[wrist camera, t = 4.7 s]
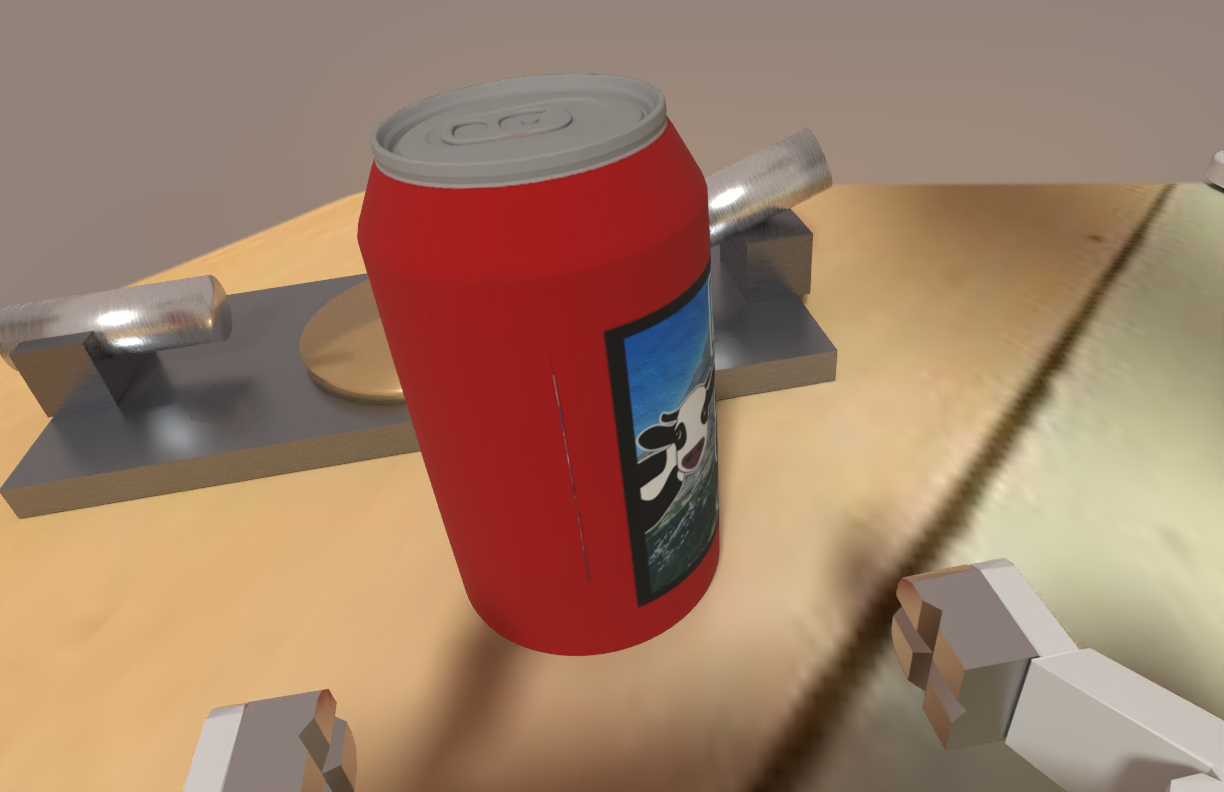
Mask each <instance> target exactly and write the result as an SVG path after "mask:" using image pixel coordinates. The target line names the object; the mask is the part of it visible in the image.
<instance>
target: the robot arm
mask: <svg viewBox="0 0 1224 792" xmlns="http://www.w3.org/2000/svg"><path fill="white" fill-rule="evenodd" d="M1205 177H1206V178H1207V179H1208V180H1210V181H1211V182H1213V183H1215V184H1217V185H1218V186H1220V187H1222V188H1224V150H1222V151H1220V152H1217V153H1216V154H1215V155H1214V156H1213V158H1212V160H1211V162H1210V164H1209V167H1208V169H1207V171H1206V173H1205ZM896 596H897V598H898V599H899V601H900V603H901V605H902V607H901V608H900V609H899V610H898V611H897V612H896V613H895V614H894V615H893V622H892V637H893V643H894V649H895V652H896V655H897V657H898V660H899V663H900V665H901V667H902V669H903V671H904V673H905V675H906V677H907V679H908V680H909V681H910V682H912V683H913V684H915V685H916V686H918V687H919V688H921V689H922V690H924V691H925V692H926V693H925V698H924V704H923V709H924V711H925V713H926V715H927V717H928V719H929V720H930V722H931V724H932V726H933V728H934V730H935V732H936V733H937V735H938V737H939V739H940V741H941V743H942V745H943V746H944V748H945V750H950V749H956V748H962V747H968V746H973V745H979V744H985V743H990V742H996V741H1002V740H1006V741H1005V744H1006V745H1008V746H1009V747H1010V748H1011V749H1013V750H1014V751H1015V752H1017V753H1018V754H1019V755H1020V756H1022V757H1023V758H1024V759H1025V760H1027V761H1028V762H1029V763H1031V764H1032V765H1033V766H1034V767H1036V768H1037V769H1038V770H1040V771H1041V772H1042V773H1043V774H1045V775H1046V776H1047V777H1048V778H1050V779H1051V780H1052V781H1054V782H1055V783H1056V784H1057V785H1059V786H1060V787H1061V788H1062V789H1064V790H1065V791H1066V792H1224V720H1222V719H1220V718H1218V717H1216V716H1215V715H1213V714H1211V713H1209V712H1207V711H1205V710H1203V709H1202V708H1200V707H1198V706H1196V705H1194V704H1192V703H1191V702H1189V701H1187V700H1185V699H1183V698H1181V697H1180V696H1178V695H1176V694H1174V693H1172V692H1170V691H1169V690H1167V689H1165V688H1163V687H1161V686H1159V685H1158V684H1156V683H1154V682H1152V681H1150V680H1148V679H1147V678H1145V677H1143V676H1141V675H1139V674H1137V673H1135V672H1134V671H1132V670H1130V669H1128V668H1126V667H1124V666H1123V665H1121V664H1119V663H1117V662H1115V661H1113V660H1112V659H1110V658H1108V657H1106V656H1104V655H1102V654H1101V653H1099V652H1097V651H1095V650H1093V649H1091V648H1085V649H1079V648H1078V647H1077V645H1076V644H1075V643H1074V641H1073V640H1072V639H1071V638H1070V636H1069V635H1068V634H1067V632H1066V631H1065V630H1064V629H1063V627H1062V626H1061V625H1060V623H1059V622H1058V621H1057V620H1056V618H1055V617H1054V616H1053V614H1052V613H1051V612H1050V611H1049V609H1048V608H1047V607H1046V605H1045V604H1044V603H1043V601H1042V600H1041V599H1040V598H1039V596H1038V595H1037V594H1036V592H1035V591H1034V590H1033V589H1032V587H1031V586H1030V585H1029V583H1028V582H1027V581H1026V580H1025V578H1024V577H1023V576H1022V574H1021V573H1020V572H1019V571H1018V569H1017V568H1016V567H1015V565H1014V564H1013V563H1012V562H1010V561H1009V560H1007V559H1005V558H1003V559H996V560H991V561H986V562H981V563H976V564H971V565H961V566H957V567H952V568H947V569H942V570H937V571H932V572H928V573H923V574H918V575H913V576H908V577H903V578H902V579H901V581H900V582H899V583H898V588H897V594H896ZM336 704H337V702H336V701H335V699H334V697H333V696H332V694H331V692H330V691H329V689H325V690H319V691H313V692H307V693H301V694H295V695H289V696H283V697H277V698H271V699H265V700H259V701H253V702H247V703H241V704H236V705H230V706H225V707H220V708H214V709H212V711H211V712H210V714H209V715H208V717H207V718H206V719H205V721H204V723H203V726H202V729H201V733H200V736H199V739H198V742H197V746H196V749H195V752H194V755H193V759H192V762H191V765H190V768H189V772H188V775H187V778H186V781H185V785H184V788H183V791H182V792H354V790H355V781H356V772H357V765H356V747H355V743H354V739H353V735H352V732H351V730H350V728H349V726H348V724H347V722H346V721H344V720H342V719H339V718H337V717H335V711H336Z"/></svg>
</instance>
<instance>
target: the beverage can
mask: <svg viewBox="0 0 1224 792" xmlns="http://www.w3.org/2000/svg"><path fill="white" fill-rule="evenodd" d="M370 143H371V147H372V151H373V155H374V157H375V158H374V161H373V164H372V167H371V172H370V176H369V180H368V184H367V189H366V193H365V197H364V201H363V205H362V210H361V214H360V218H359V222H358V234H357V238H358V243H359V247H360V250H361V254H362V257H363V260H364V264H365V267H366V271H367V274H368V277H369V281H370V284H371V287H372V291H373V294H374V298H375V301H376V304H377V308H378V311H379V315H380V318H381V321H382V325H383V328H384V332H385V335H386V338H387V342H388V345H389V349H390V352H391V355H392V359H393V362H394V365H395V369H396V372H397V375H398V378H399V382H400V385H401V388H402V391H403V395H404V398H405V401H406V404H407V408H408V411H409V414H410V417H411V421H412V424H413V427H414V430H415V434H416V437H417V440H418V443H419V447H420V450H421V453H422V456H423V460H424V463H425V466H426V469H427V472H428V475H429V479H430V482H431V485H432V488H433V491H434V494H435V497H436V501H437V504H438V507H439V510H440V513H441V516H442V520H443V523H444V526H445V529H446V532H447V535H448V538H449V541H450V544H451V547H452V550H453V553H454V556H455V559H456V562H457V565H458V568H459V572H460V575H461V578H462V581H463V584H464V587H465V590H466V593H467V595H468V598H469V600H470V602H471V604H472V606H473V607H474V609H475V610H476V612H477V613H478V614H479V616H480V617H481V618H482V619H483V620H484V621H485V622H486V623H487V624H488V625H489V626H490V627H491V628H492V629H493V630H495V631H496V632H497V633H499V634H500V635H501V636H503V637H505V638H506V639H508V640H510V641H512V642H514V643H516V644H518V645H521V646H523V647H526V648H529V649H532V650H536V651H539V652H544V653H549V654H556V655H565V656H587V655H597V654H605V653H610V652H615V651H619V650H623V649H626V648H629V647H632V646H635V645H638V644H641V643H643V642H645V641H648V640H650V639H652V638H654V637H656V636H658V635H659V634H661V633H663V632H665V631H666V630H668V629H669V628H671V627H672V626H674V625H675V624H676V623H678V622H679V621H680V620H681V619H683V618H684V617H685V616H686V615H687V614H688V613H689V612H690V611H691V610H692V609H693V608H694V607H695V606H696V605H697V603H698V602H699V601H700V600H701V598H702V597H703V595H704V594H705V592H706V591H707V589H708V587H709V585H710V583H711V581H712V579H713V576H714V573H715V571H716V567H717V563H718V557H719V498H718V452H717V414H716V379H715V352H714V324H713V297H712V273H711V251H710V229H709V207H708V188H707V183H706V181H705V178H704V176H703V174H702V171H701V170H700V168H699V166H698V165H697V163H696V162H695V160H694V159H693V157H692V155H691V154H690V152H689V150H688V148H687V147H686V145H685V143H684V142H683V140H682V139H681V137H680V135H679V134H678V132H677V130H676V129H675V127H674V126H673V124H672V123H671V121H670V120H669V118H668V117H667V116H666V103H665V97H664V95H663V93H662V92H661V90H659V89H658V88H657V87H656V86H654V85H652V84H650V83H648V82H646V81H643V80H639V79H635V78H631V77H626V76H619V75H612V74H598V73H561V74H545V75H533V76H524V77H516V78H510V79H504V80H497V81H491V82H486V83H481V84H476V85H471V86H468V87H464V88H459V89H455V90H451V91H448V92H444V93H441V94H438V95H435V96H431V97H429V98H425V99H423V100H420V101H418V102H415V103H412V104H410V105H408V106H406V107H404V108H402V109H400V110H398V111H396V112H394V113H393V114H391V115H389V116H388V117H386V118H384V119H383V120H382V121H381V122H379V123H378V124H377V126H376V127H375V128H374V130H373V131H372V133H371V136H370Z"/></svg>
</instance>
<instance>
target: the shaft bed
mask: <svg viewBox="0 0 1224 792" xmlns="http://www.w3.org/2000/svg"><path fill="white" fill-rule="evenodd" d="M705 181H706V183H707V188H708V207H709V229H710V251H711V273H712V297H713V324H714V352H715V379H716V400H721V399H727V398H733V397H739V396H745V395H751V394H757V393H763V392H769V391H775V390H780V389H786V388H792V387H798V386H804V385H810V384H816V383H822V382H828V381H833V380H835V376H836V362H837V349H836V348H835V347H834V345H833V344H832V342H831V341H830V340H829V338H828V337H827V336H826V334H825V333H824V332H823V330H822V329H821V327H820V326H819V325H818V323H817V322H816V321H815V319H814V318H813V317H812V315H811V314H810V313H809V311H808V310H807V308H806V307H805V306H804V304H803V303H802V302H801V300H800V299H799V298H798V295H804V294H810V284H811V263H812V241H813V233H812V232H811V231H810V230H809V229H808V228H807V227H806V225H805V224H804V223H803V222H802V221H801V220H800V219H799V218H798V217H797V215H796V214H795V213H794V212H793V211H792V210H791V209H790V208H792V207H794V206H796V205H798V204H800V203H802V202H804V201H806V200H808V199H810V198H812V197H814V196H816V195H818V194H820V193H822V192H824V191H826V190H828V189H830V188H831V187H832V178H831V173H830V170H829V167H828V164H827V161H826V159H825V156H824V154H823V152H822V150H821V148H820V146H819V144H818V142H817V140H816V139H815V137H814V136H813V134H812V133H811V131H810V130H809V129H808V128H807V127H802V128H800V129H798V130H796V131H794V132H792V133H791V134H789V135H787V136H785V137H783V138H781V139H779V140H777V141H775V142H773V143H771V144H769V145H767V146H766V147H764V148H762V149H760V150H758V151H756V152H754V153H752V154H750V155H748V156H746V157H744V158H742V159H741V160H739V161H737V162H735V163H733V164H731V165H729V166H727V167H725V168H723V169H721V170H719V171H717V172H716V173H714V174H712V175H710V176H708V177H706V178H705ZM0 354H1V356H2V358H3V359H4V360H5V362H6V363H7V364H8V365H9V366H10V367H12V368H13V369H15V370H16V371H19V372H20V374H21V376H22V377H23V379H24V380H25V382H26V383H27V385H28V387H29V388H30V390H31V391H32V393H33V394H34V396H35V398H36V399H37V401H38V402H39V404H40V405H41V407H42V409H43V410H44V412H45V413H46V415H47V416H48V417H53V416H54V417H53V418H52V420H51V421H50V422H49V424H48V425H47V426H46V428H45V429H44V430H43V432H42V433H41V434H40V436H39V437H38V438H37V440H36V441H35V443H34V444H33V445H32V447H31V448H30V449H29V451H28V452H27V453H26V455H25V456H24V457H23V459H22V460H21V461H20V463H19V464H18V465H17V467H16V468H15V469H14V471H13V472H12V473H11V475H10V476H9V478H8V479H7V480H6V482H5V483H4V484H3V486H2V487H1V488H0V493H1V495H2V496H3V497H4V499H5V500H6V501H7V503H8V504H9V506H10V507H11V508H12V510H13V511H14V512H15V514H16V515H17V517H18V518H19V519H20V518H26V517H32V516H38V515H44V514H50V513H55V512H61V511H67V510H73V509H79V508H85V507H91V506H97V505H103V504H108V503H114V502H120V501H126V500H132V499H138V498H144V497H150V496H156V495H162V494H167V493H173V492H179V491H185V490H191V489H197V488H203V487H209V486H215V485H220V484H226V483H232V482H238V481H244V480H250V479H256V478H262V477H268V476H274V475H279V474H285V473H291V472H297V471H303V470H309V469H315V468H321V467H327V466H332V465H338V464H344V463H350V462H356V461H362V460H368V459H374V458H380V457H386V456H391V455H397V454H403V453H409V452H415V451H421V450H420V447H419V443H418V440H417V437H416V434H415V430H414V427H413V424H412V421H411V417H410V414H409V411H408V408H407V404H406V401H405V398H404V395H403V391H402V388H401V385H400V382H399V378H398V375H397V372H396V369H395V365H394V362H393V359H392V355H391V352H390V349H389V345H388V342H387V338H386V335H385V332H384V328H383V325H382V321H381V318H380V315H379V311H378V308H377V304H376V301H375V298H374V294H373V291H372V287H371V284H370V281H369V277H368V274H360V275H354V276H348V277H341V278H335V279H328V280H322V281H315V282H309V283H303V284H296V285H290V286H283V287H277V288H270V289H264V290H258V291H251V292H245V293H238V294H232V295H226V293H225V291H224V289H223V287H222V285H221V283H220V282H219V281H218V280H217V279H216V278H215V277H214V276H212V275H206V276H199V277H193V278H186V279H180V280H173V281H167V282H160V283H154V284H147V285H141V286H134V287H128V288H121V289H115V290H108V291H102V292H95V293H89V294H83V295H76V296H69V297H64V298H57V299H50V300H43V301H37V302H30V303H24V304H18V305H11V306H6V307H3V308H2V309H1V310H0Z"/></svg>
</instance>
